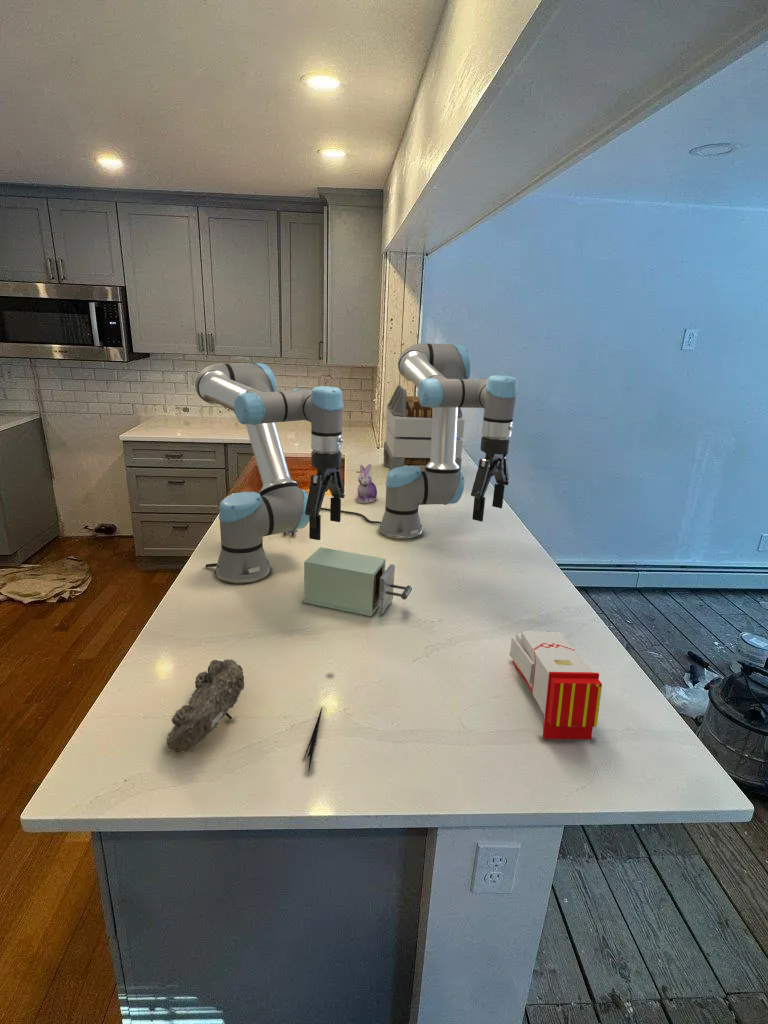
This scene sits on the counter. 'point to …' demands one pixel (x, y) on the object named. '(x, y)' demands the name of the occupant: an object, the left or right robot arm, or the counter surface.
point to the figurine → (366, 486)
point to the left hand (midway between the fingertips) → (325, 529)
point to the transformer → (412, 432)
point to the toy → (558, 683)
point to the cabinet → (341, 580)
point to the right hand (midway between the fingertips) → (487, 513)
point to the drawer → (386, 588)
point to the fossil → (206, 705)
